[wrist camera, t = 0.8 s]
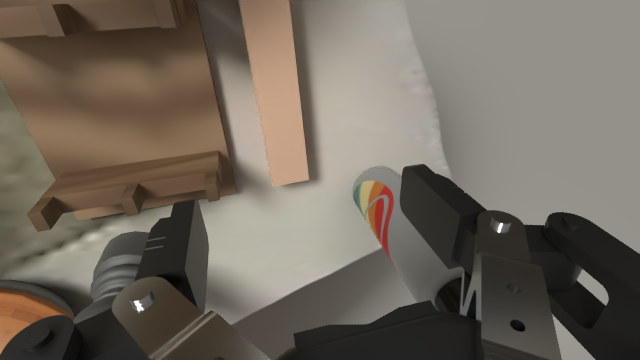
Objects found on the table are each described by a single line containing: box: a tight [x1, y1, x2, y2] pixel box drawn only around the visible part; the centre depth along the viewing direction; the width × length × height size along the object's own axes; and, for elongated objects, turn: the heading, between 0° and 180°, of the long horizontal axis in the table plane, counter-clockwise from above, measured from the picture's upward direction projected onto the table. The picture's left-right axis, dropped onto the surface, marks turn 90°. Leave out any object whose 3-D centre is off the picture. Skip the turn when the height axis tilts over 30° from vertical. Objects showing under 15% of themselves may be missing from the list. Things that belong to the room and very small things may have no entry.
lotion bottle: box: [353, 167, 464, 314], centre depth 28 cm, size 6×6×20 cm
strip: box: [238, 0, 309, 187], centre depth 27 cm, size 18×4×3 cm, turn 5°
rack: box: [0, 0, 236, 232], centre depth 23 cm, size 20×14×7 cm
